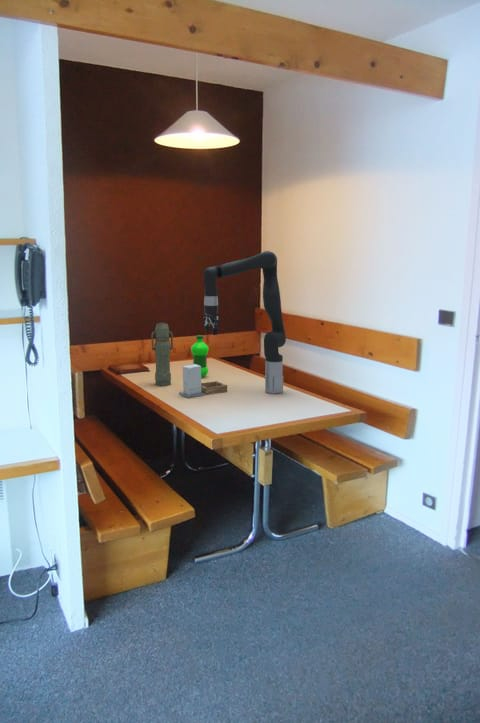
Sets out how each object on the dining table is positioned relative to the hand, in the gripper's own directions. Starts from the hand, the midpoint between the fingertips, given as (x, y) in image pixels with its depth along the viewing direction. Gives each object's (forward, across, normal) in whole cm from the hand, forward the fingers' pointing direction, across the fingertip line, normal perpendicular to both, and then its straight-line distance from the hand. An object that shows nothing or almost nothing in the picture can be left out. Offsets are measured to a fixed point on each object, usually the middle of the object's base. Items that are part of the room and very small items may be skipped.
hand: (211, 333), depth 314 cm
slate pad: (+30, -9, +17) cm, 36 cm away
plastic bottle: (+30, +26, -7) cm, 41 cm away
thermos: (+30, +20, +20) cm, 41 cm away
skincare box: (+29, -9, +17) cm, 35 cm away
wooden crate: (+30, -7, +4) cm, 31 cm away
